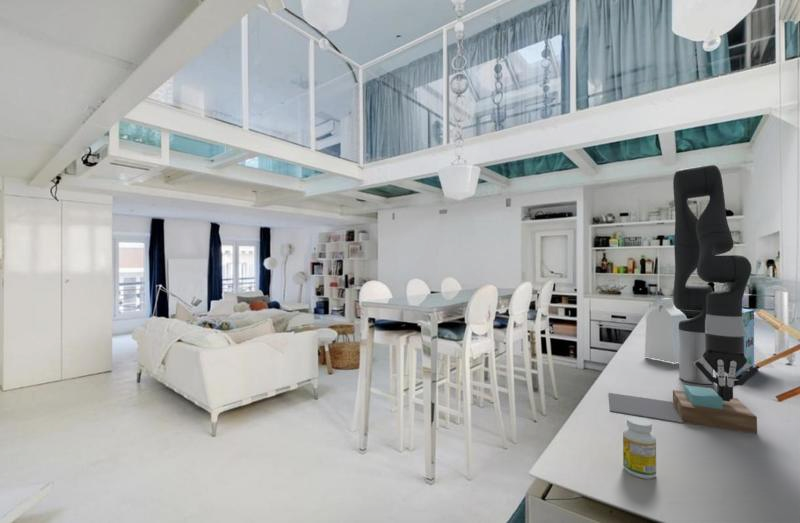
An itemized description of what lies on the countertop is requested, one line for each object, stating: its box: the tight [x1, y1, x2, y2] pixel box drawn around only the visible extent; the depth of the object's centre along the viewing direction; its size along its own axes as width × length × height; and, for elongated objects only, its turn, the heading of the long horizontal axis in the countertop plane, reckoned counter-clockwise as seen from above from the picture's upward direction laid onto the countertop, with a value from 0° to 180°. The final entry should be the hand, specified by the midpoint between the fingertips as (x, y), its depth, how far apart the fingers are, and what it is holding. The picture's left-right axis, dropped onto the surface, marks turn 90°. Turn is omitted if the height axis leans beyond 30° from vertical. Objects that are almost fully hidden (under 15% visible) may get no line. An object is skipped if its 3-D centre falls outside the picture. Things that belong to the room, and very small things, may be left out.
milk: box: [644, 297, 688, 363], centre depth 156 cm, size 12×12×26 cm
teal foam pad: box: [684, 384, 723, 409], centre depth 97 cm, size 9×6×2 cm, turn 153°
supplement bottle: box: [622, 416, 657, 480], centre depth 71 cm, size 5×5×10 cm
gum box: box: [724, 308, 755, 377], centre depth 139 cm, size 20×5×23 cm, turn 123°
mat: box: [608, 392, 685, 424], centre depth 103 cm, size 16×16×1 cm
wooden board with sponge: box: [672, 389, 758, 435], centre depth 96 cm, size 14×14×4 cm
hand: (724, 400), depth 95 cm, fingers closed
